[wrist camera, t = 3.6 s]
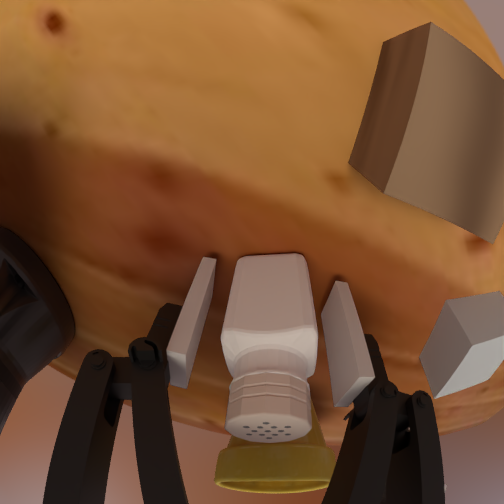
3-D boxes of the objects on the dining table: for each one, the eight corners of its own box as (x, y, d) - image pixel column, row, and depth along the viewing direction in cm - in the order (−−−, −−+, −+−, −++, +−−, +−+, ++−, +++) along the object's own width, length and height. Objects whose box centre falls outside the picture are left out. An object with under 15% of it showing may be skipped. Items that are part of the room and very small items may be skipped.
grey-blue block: (418, 355, 20) (434, 398, 16) (444, 298, 17) (472, 345, 12) (470, 343, 19) (488, 379, 15) (498, 289, 16) (525, 327, 12)
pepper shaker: (305, 302, 17) (317, 444, 9) (244, 304, 18) (224, 444, 9) (305, 248, 15) (329, 406, 7) (235, 252, 16) (200, 406, 7)
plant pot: (302, 423, 27) (303, 495, 19) (218, 410, 26) (205, 487, 18) (349, 382, 22) (361, 476, 14) (242, 364, 21) (228, 475, 13)
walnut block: (347, 162, 13) (383, 193, 8) (381, 42, 9) (430, 21, 5) (445, 203, 13) (492, 244, 9) (477, 103, 9) (535, 116, 5)
